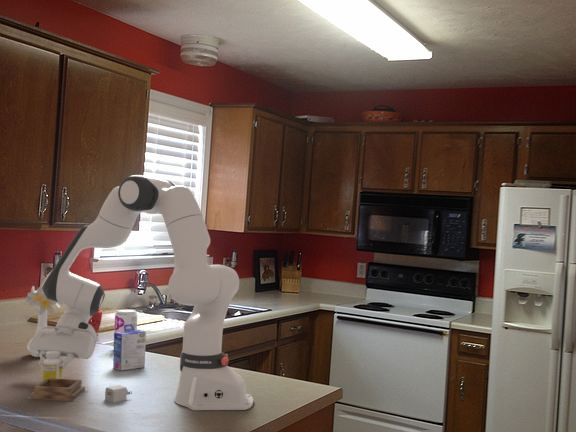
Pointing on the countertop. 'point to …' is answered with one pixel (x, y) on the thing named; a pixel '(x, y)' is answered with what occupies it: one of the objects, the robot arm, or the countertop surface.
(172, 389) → the countertop surface
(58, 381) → the wooden tray
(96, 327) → the plant pot
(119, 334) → the ink cartridge box
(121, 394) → the usb wall charger
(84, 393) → the mat
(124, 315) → the supplement can
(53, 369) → the supplement bottle
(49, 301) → the flower vase
